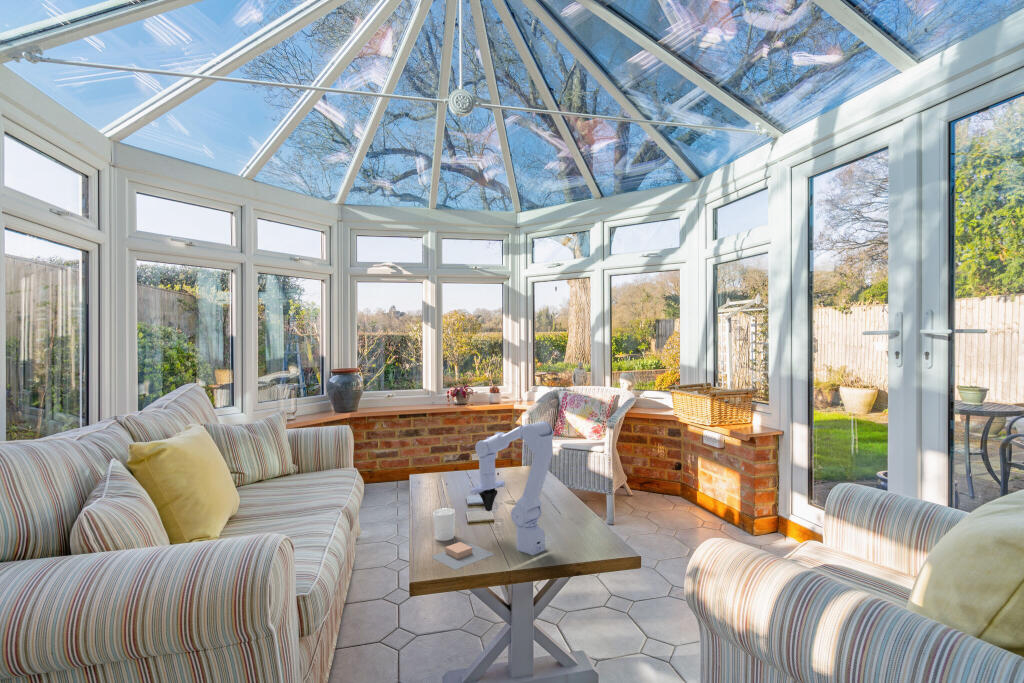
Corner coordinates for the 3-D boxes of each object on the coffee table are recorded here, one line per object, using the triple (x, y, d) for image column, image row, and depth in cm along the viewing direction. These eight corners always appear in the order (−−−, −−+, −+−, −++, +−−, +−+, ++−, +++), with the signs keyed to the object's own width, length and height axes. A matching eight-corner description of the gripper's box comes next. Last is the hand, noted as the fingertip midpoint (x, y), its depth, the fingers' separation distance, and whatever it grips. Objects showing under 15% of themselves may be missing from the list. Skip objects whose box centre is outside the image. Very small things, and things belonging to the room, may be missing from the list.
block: (472, 547, 162) (457, 552, 158) (472, 554, 162) (457, 559, 158) (460, 541, 168) (445, 547, 164) (460, 548, 168) (445, 553, 164)
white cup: (440, 545, 173) (439, 516, 173) (430, 538, 179) (429, 511, 179) (459, 539, 177) (458, 511, 178) (449, 533, 184) (448, 506, 184)
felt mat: (494, 556, 162) (494, 554, 162) (454, 572, 151) (454, 569, 151) (469, 545, 172) (469, 542, 172) (430, 558, 161) (430, 556, 161)
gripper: (495, 467, 186) (496, 503, 186) (464, 474, 177) (465, 512, 176) (507, 470, 181) (509, 507, 181) (476, 478, 171) (477, 517, 171)
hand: (488, 510), depth 178 cm, fingers closed
